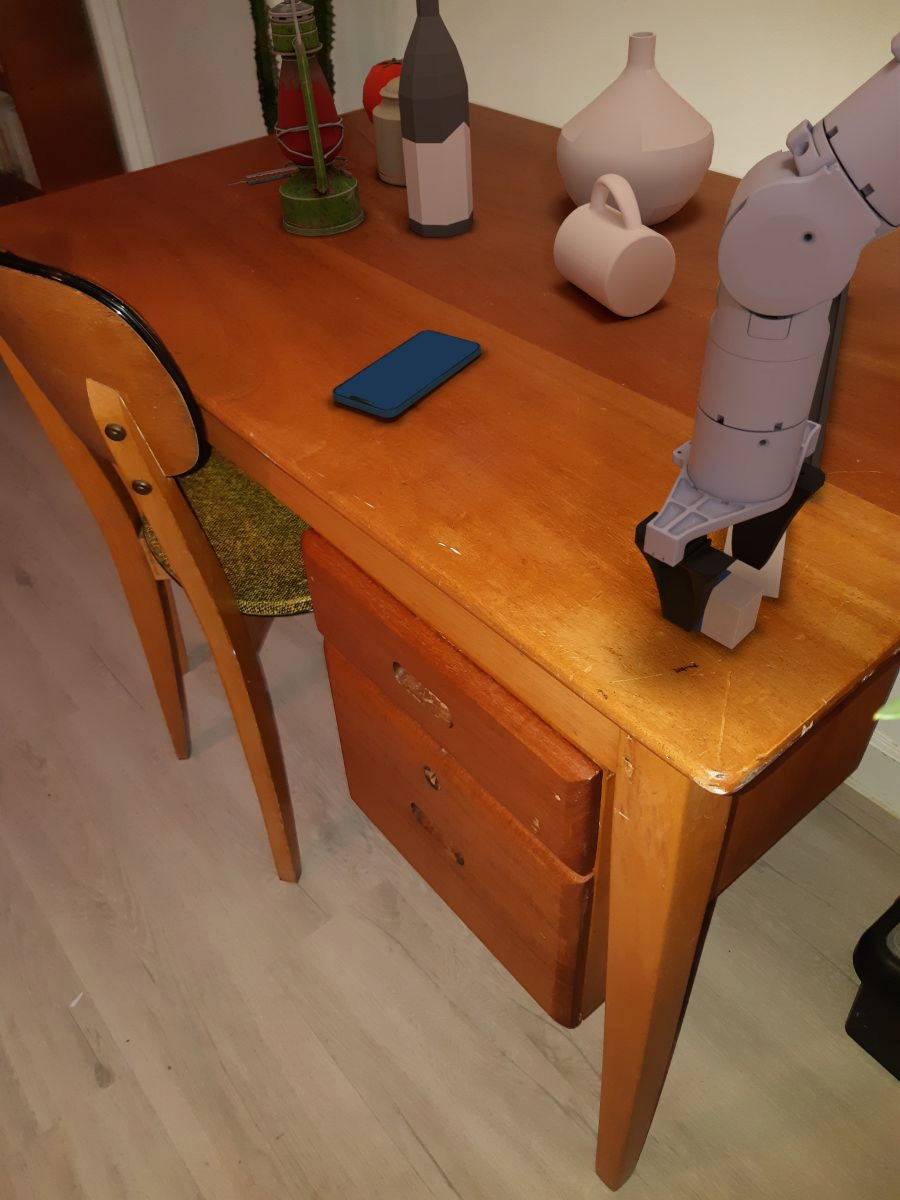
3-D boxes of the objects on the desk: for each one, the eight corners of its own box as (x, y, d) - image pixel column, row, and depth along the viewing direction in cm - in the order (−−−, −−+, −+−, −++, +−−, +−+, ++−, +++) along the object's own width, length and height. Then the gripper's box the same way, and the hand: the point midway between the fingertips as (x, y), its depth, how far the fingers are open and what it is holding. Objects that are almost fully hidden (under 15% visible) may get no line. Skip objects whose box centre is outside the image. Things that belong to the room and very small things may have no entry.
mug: (602, 326, 88) (610, 203, 80) (551, 289, 95) (553, 172, 87) (671, 306, 91) (686, 184, 82) (616, 271, 98) (624, 155, 89)
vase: (667, 253, 100) (688, 61, 87) (528, 227, 108) (528, 48, 95) (727, 199, 111) (754, 21, 98) (596, 179, 119) (605, 12, 106)
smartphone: (485, 344, 85) (390, 413, 77) (485, 353, 86) (391, 423, 77) (424, 328, 89) (326, 392, 80) (425, 336, 89) (328, 401, 81)
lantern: (373, 232, 110) (338, -66, 90) (289, 246, 109) (233, -54, 88) (354, 196, 120) (319, -80, 99) (277, 208, 119) (224, -70, 98)
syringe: (222, 183, 127) (219, 171, 126) (339, 159, 132) (337, 147, 131) (235, 199, 122) (233, 186, 121) (357, 173, 127) (355, 160, 126)
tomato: (452, 123, 142) (448, 49, 135) (400, 146, 135) (393, 69, 128) (400, 114, 147) (394, 43, 140) (347, 135, 140) (338, 61, 133)
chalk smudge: (777, 598, 59) (778, 597, 59) (716, 587, 60) (716, 586, 60) (786, 526, 64) (787, 524, 64) (730, 517, 65) (730, 516, 65)
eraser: (754, 628, 57) (764, 588, 55) (731, 650, 56) (740, 610, 53) (689, 593, 60) (696, 553, 57) (666, 613, 59) (672, 573, 56)
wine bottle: (434, 210, 115) (413, -79, 94) (486, 219, 111) (477, -79, 90) (397, 231, 110) (367, -68, 89) (450, 243, 106) (432, -66, 86)
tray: (811, 497, 67) (817, 475, 65) (741, 485, 68) (745, 464, 67) (845, 297, 90) (850, 278, 88) (792, 292, 91) (796, 273, 90)
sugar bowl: (356, 164, 130) (341, 46, 120) (423, 149, 133) (414, 33, 123) (398, 192, 120) (386, 67, 110) (469, 175, 123) (464, 52, 113)
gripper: (761, 331, 52) (725, 512, 62) (606, 432, 45) (592, 619, 55) (875, 369, 48) (818, 556, 58) (724, 487, 42) (687, 677, 51)
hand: (714, 590), depth 56 cm, fingers open, 7 cm apart
